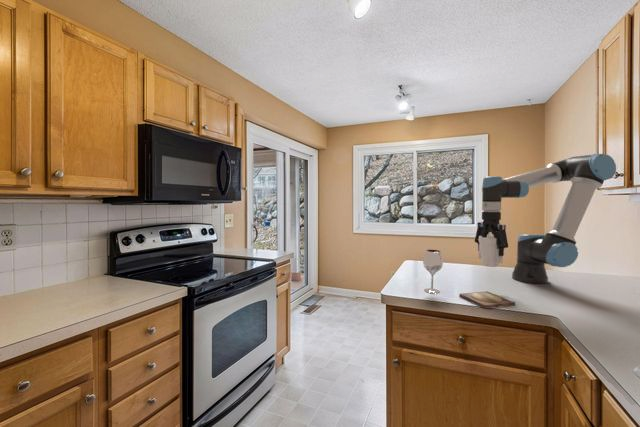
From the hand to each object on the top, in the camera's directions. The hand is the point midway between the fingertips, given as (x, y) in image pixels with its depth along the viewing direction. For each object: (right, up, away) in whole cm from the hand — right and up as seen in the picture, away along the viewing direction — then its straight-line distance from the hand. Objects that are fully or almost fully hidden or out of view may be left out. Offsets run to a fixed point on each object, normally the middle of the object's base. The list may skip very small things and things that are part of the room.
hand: (490, 260), depth 142 cm
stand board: (-10, -14, -15) cm, 23 cm away
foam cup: (0, -2, 0) cm, 2 cm away
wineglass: (-27, -13, -3) cm, 31 cm away
